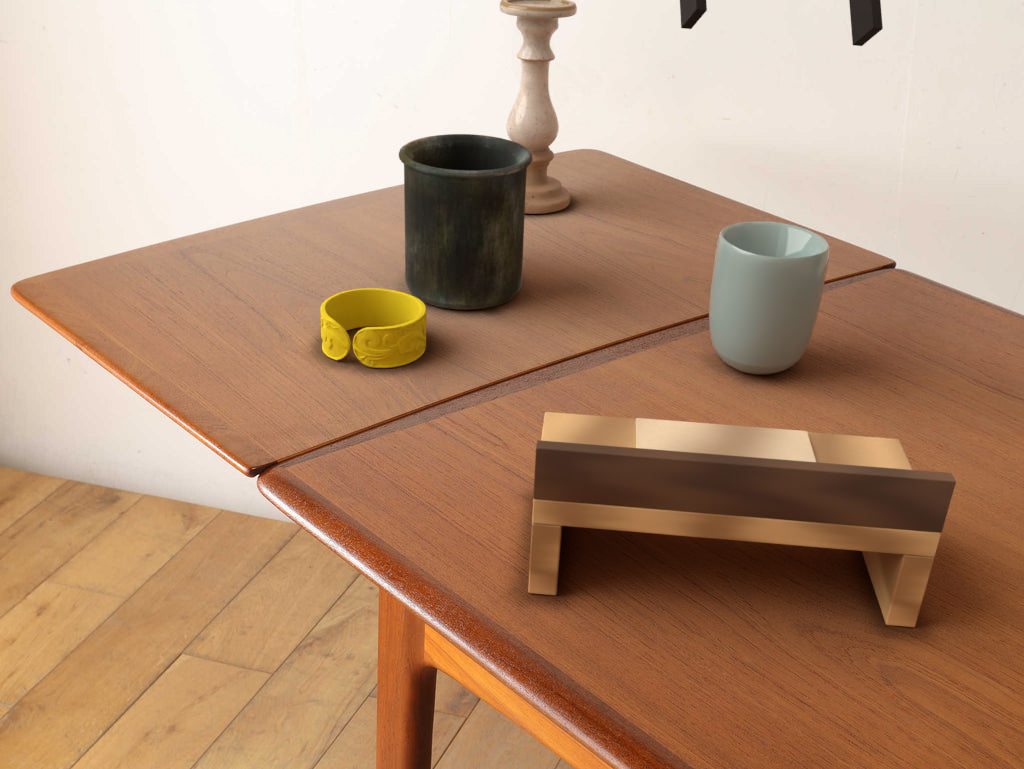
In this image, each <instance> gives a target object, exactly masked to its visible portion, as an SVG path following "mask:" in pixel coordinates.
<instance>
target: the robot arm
mask: <svg viewBox="0 0 1024 769" xmlns="http://www.w3.org/2000/svg"><path fill="white" fill-rule="evenodd" d="M848 2H849V15H850V27H851V42H852V46H857V47H863V46H864V45H865V44H867V42H869V41H870V40H871V39H873V38H874V37H875V36H876V35H877V34H878V33H880V32H881V31H882V30H883V29H884V28H883V27H884V26H883V14H882V3H881V0H848ZM707 6H708V5H707V0H679V10H680V29H687V30H692V29H693V27H694V26H695V25H696V24H697V23H698V21H699V20H700V19H701V18H702V17H703V16H704V14H705V13H706V12H707V11H708V8H707Z"/></svg>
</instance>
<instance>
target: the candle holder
mask: <svg viewBox="0 0 1024 769" xmlns="http://www.w3.org/2000/svg"><path fill="white" fill-rule="evenodd" d="M498 6H499V7H498V8H499V11H500V12H501V13H503V14H506V15H509V16H515V17H516V21H515V22H516V23H515V25H516V28H517V30H519V32H520V34H521V36H522V46H521V47H520V49H519V51H518V52H517V54H516V58H517V59H518V60H520V61H521V73H520V74H521V76H520V84H519V90H518V94H517V97H516V99H515V101H514V104H513V106H512V107H511V110H510V111H509V114H508V117H507V120H506V124H505V125H506V126H505V128H506V133H507V137H508V139H509V140H510V141H513V142H516V143H518V144H521V145H522V146H524V147H526V148H527V149H528V150H529V151H530V152H531V154H532V162H531V164H530V165H529V166H528V167H527V173H526V194H525V214H530V215H531V214H532V215H533V214H534V215H536V214H537V215H538V214H549V213H555V212H558V211H561V210H564V209H566V208H567V207H568V206H569V205H570V202H571V196H572V195H571V192H570V191H569V190H568V189H567V188H566V187H564V186H563V185H562V182H561V181H560V180H559V179H557V178H555V177H553V176H551V175H548V167H549V165H550V163H551V162H552V160H553V159H554V158H555V154H554V152H553V150H551V149H550V146H551V145H552V144H553V143H554V142H555V140H556V139H557V137H558V135H559V129H560V126H559V125H560V124H559V121H558V117H557V116H558V115H557V113H556V110H555V107H554V105H553V103H552V99H551V95H550V88H549V85H550V84H549V81H550V80H549V77H550V75H549V72H550V63H551V62H552V61H554V60H555V59H556V55H555V53H554V52H553V50H552V48H551V40H552V36H553V35H554V33H555V32H556V31H557V30H558V29H559V25H560V24H559V19H561V18H562V19H563V18H570V17H573V16H575V15H576V14H577V12H578V6H577V4H576V2H574V1H572V0H500V2H499V5H498Z"/></svg>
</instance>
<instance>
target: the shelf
mask: <svg viewBox="0 0 1024 769" xmlns="http://www.w3.org/2000/svg"><path fill="white" fill-rule="evenodd" d="M540 437H541V438H540V440H539V439H537V440H536V444H535V445H536V446H535V460H534V476H533V495H532V514H531V516H532V517H531V529H530V530H531V531H530V533H531V534H530V551H529V569H528V584H527V586H528V587H527V592H528V594H533V595H534V594H535V595H544V596H545V595H547V596H556V595H557V594H558V580H559V568H560V558H561V548H562V546H561V545H562V534H563V527H572V528H573V527H574V528H585V529H595V530H596V529H597V530H609V531H621V532H631V533H633V532H634V533H643V534H653V535H654V534H657V535H666V536H667V535H668V536H677V537H678V536H679V537H692V538H704V539H715V540H726V541H738V542H739V541H740V542H750V543H761V544H774V545H784V546H785V545H786V546H799V547H808V548H809V547H810V548H823V549H834V550H846V551H858V552H861V553H862V556H863V559H864V564H865V565H866V569H867V571H868V575H869V578H870V580H871V583H872V587H873V590H874V593H875V596H876V599H877V602H878V605H879V608H880V612H881V614H882V617H883V620H884V623H885V625H886V626H892V627H893V626H894V627H905V628H915V627H916V625H917V622H918V617H919V614H920V611H921V607H922V603H923V600H924V597H925V592H926V590H927V586H928V582H929V578H930V575H931V571H932V568H933V564H934V561H935V557H936V553H937V550H938V546H939V543H940V539H941V536H942V532H943V530H944V526H945V523H946V519H947V516H948V512H949V509H950V504H951V501H952V498H953V494H954V491H955V487H956V483H957V481H956V479H955V476H954V475H953V472H945V471H933V470H932V471H931V470H921V469H919V470H918V469H913V467H912V465H911V463H910V461H909V459H908V456H907V454H906V451H905V450H904V449H905V448H903V445H902V443H901V441H900V439H899V438H891V437H890V438H889V437H878V436H864V435H851V434H838V433H825V432H813V431H807V430H800V429H784V428H783V429H782V428H774V427H773V428H772V427H761V426H748V425H746V426H745V425H736V424H734V425H733V424H721V423H708V422H694V421H683V420H670V419H667V420H666V419H656V418H642V417H635V418H633V417H631V418H630V417H621V416H620V417H619V416H605V415H592V414H581V413H580V414H579V413H567V412H555V411H545V412H544V416H543V422H542V430H541V436H540Z"/></svg>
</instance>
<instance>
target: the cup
mask: <svg viewBox="0 0 1024 769" xmlns="http://www.w3.org/2000/svg"><path fill="white" fill-rule="evenodd" d="M714 253H715V254H714V262H713V269H712V276H711V286H710V292H709V293H710V294H709V304H708V329H709V330H708V331H709V337H710V341H711V345H712V348H713V350H714V352H715V353H716V354H717V356H718V358H720V360H721V361H723V362H724V363H725V364H726V365H728V366H729V367H731V368H733V369H735V370H736V371H739V372H742V373H746V374H750V375H762V376H763V375H773V374H778V373H781V372H784V371H786V370H789V369H790V368H792V367H793V366H794V365H795V364H797V362H799V361H800V360H801V358H802V356H803V355H804V354H805V351H806V350H807V349H808V346H809V344H810V342H811V338H812V337H813V333H814V330H815V326H816V324H817V319H818V315H819V311H820V308H821V303H822V298H823V292H824V287H825V282H826V278H827V277H826V276H827V273H828V272H827V271H828V265H829V259H830V245H829V242H828V241H827V240H826V239H825V238H824V237H823V236H821V235H820V234H817V233H816V232H814V231H812V230H810V229H807V228H804V227H801V226H799V225H794V224H791V223H784V222H778V221H766V220H765V221H764V220H761V221H760V220H759V221H756V220H755V221H744V222H736V223H733V224H730V225H729V224H728V225H727V226H725V227H724V228H723V229H721V230H720V232H719V234H718V238H717V242H716V248H715V252H714Z"/></svg>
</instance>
